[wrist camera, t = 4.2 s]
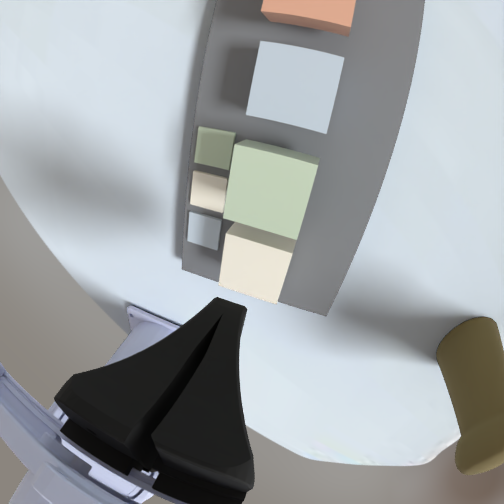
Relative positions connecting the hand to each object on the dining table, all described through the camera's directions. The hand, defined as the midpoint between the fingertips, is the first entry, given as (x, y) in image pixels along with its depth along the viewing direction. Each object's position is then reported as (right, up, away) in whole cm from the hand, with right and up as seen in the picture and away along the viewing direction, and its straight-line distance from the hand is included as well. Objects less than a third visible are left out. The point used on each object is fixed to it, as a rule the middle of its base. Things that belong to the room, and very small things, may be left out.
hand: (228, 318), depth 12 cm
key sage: (+2, +6, +1) cm, 6 cm away
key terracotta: (+4, +14, -4) cm, 15 cm away
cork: (+18, -5, +5) cm, 20 cm away
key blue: (+3, +10, -1) cm, 11 cm away
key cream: (+1, +3, +4) cm, 5 cm away
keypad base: (+3, +9, +2) cm, 9 cm away
